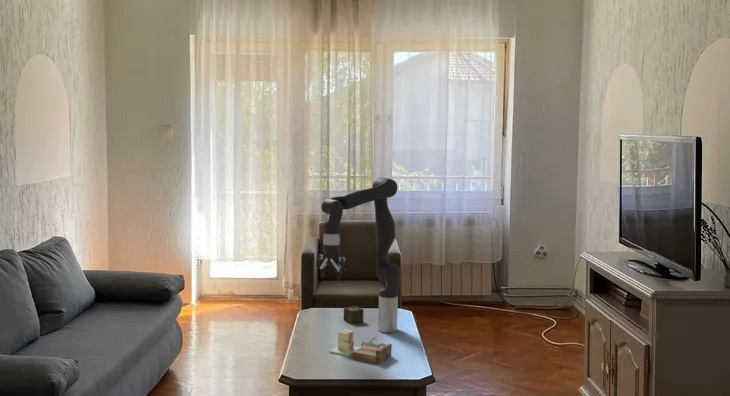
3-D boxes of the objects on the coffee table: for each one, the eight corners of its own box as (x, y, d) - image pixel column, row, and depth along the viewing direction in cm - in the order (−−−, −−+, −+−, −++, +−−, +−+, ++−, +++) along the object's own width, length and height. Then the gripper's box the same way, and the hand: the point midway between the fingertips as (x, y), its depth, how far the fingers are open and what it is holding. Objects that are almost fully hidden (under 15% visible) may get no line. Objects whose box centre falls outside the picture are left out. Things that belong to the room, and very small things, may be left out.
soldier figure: (386, 356, 320) (361, 347, 319) (384, 360, 324) (358, 351, 323) (390, 340, 325) (365, 331, 324) (387, 345, 328) (362, 336, 328)
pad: (342, 345, 330) (342, 343, 330) (362, 349, 325) (362, 347, 325) (329, 352, 319) (329, 350, 319) (349, 356, 314) (349, 354, 314)
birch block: (343, 346, 325) (344, 329, 324) (353, 348, 323) (353, 331, 322) (338, 349, 321) (338, 331, 320) (347, 351, 319) (348, 333, 318)
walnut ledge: (365, 351, 322) (366, 339, 321) (391, 356, 316) (391, 344, 315) (352, 358, 311) (353, 346, 311) (378, 364, 305) (379, 351, 305)
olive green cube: (343, 321, 371) (343, 307, 371) (355, 319, 375) (356, 306, 375) (351, 325, 365) (351, 311, 365) (363, 323, 369) (363, 309, 368)
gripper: (349, 243, 329) (348, 278, 331) (322, 240, 336) (321, 274, 337) (341, 245, 323) (340, 281, 324) (313, 242, 329) (313, 277, 331)
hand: (330, 278), depth 331 cm, fingers open, 8 cm apart
